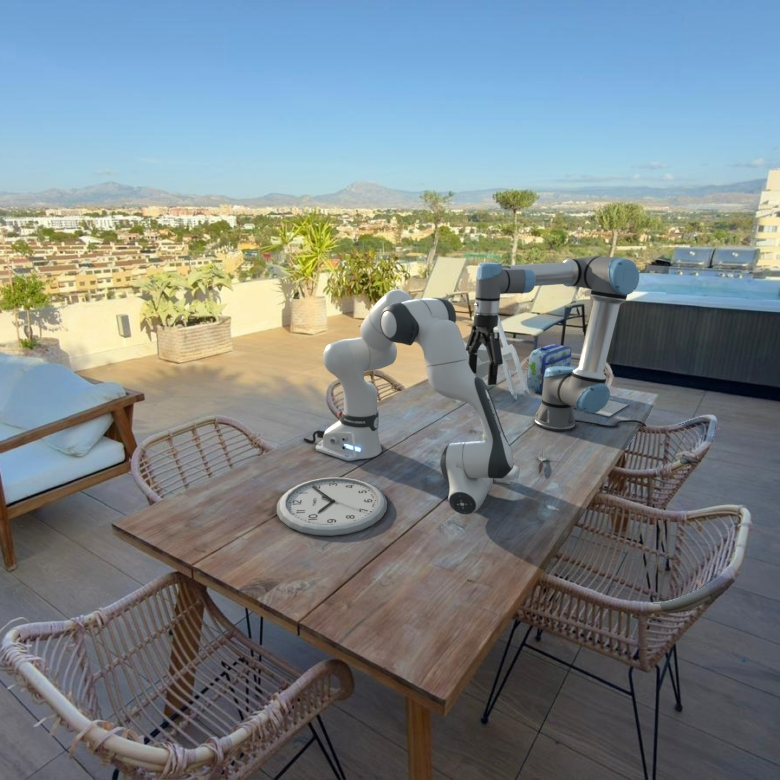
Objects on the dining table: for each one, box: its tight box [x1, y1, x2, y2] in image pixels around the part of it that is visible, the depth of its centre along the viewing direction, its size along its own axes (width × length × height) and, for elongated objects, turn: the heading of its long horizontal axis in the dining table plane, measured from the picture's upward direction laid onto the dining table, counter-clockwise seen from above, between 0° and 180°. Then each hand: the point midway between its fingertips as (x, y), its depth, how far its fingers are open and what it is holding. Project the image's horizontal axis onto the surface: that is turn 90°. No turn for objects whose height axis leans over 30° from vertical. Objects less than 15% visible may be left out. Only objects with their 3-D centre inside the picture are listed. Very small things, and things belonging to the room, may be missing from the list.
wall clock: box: [276, 476, 388, 537], centre depth 142 cm, size 30×2×30 cm
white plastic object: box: [463, 313, 531, 400], centre depth 245 cm, size 37×45×31 cm
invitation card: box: [595, 399, 629, 418], centre depth 226 cm, size 21×1×15 cm
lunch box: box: [526, 343, 572, 394], centre depth 247 cm, size 26×11×21 cm, turn 134°
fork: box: [538, 449, 548, 474], centre depth 169 cm, size 3×16×2 cm, turn 160°
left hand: (488, 459), depth 158 cm, fingers open, 8 cm apart
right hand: (481, 378), depth 170 cm, fingers open, 13 cm apart
